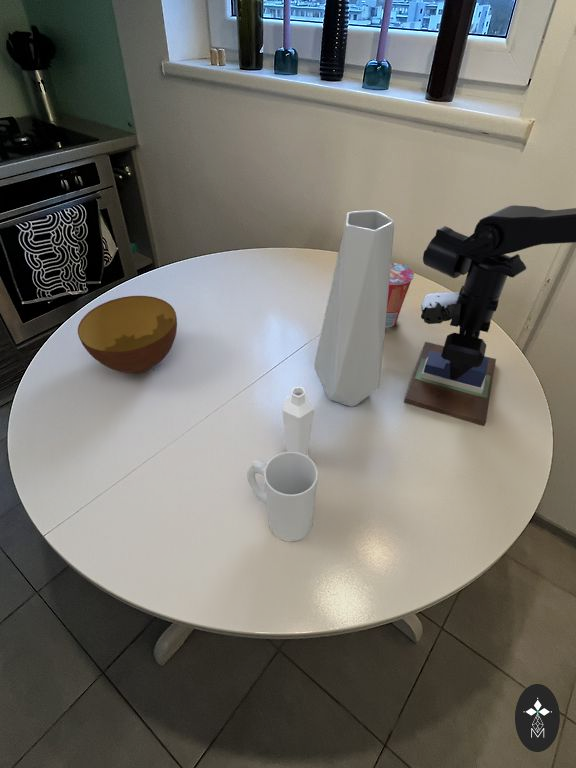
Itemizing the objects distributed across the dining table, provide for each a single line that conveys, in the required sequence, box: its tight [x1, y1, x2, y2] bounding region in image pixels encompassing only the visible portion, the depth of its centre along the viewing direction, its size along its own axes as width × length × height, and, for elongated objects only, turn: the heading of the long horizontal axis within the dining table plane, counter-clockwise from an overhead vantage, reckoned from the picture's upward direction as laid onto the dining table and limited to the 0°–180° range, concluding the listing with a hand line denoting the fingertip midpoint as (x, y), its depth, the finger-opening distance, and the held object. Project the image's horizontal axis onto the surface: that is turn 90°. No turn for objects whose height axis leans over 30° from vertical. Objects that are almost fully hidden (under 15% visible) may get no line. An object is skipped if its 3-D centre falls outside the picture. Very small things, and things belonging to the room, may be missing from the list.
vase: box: [313, 209, 395, 407], centre depth 73 cm, size 12×12×33 cm
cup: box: [385, 262, 415, 329], centre depth 96 cm, size 9×8×12 cm
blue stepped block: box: [421, 351, 489, 394], centre depth 84 cm, size 11×5×5 cm, turn 66°
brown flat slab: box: [403, 341, 497, 427], centre depth 86 cm, size 14×18×1 cm
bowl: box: [77, 295, 178, 374], centre depth 87 cm, size 18×18×10 cm
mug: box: [246, 451, 319, 543], centre depth 61 cm, size 10×7×12 cm, turn 62°
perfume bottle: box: [281, 386, 315, 457], centre depth 68 cm, size 5×4×15 cm
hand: (457, 363), depth 83 cm, fingers open, 9 cm apart
